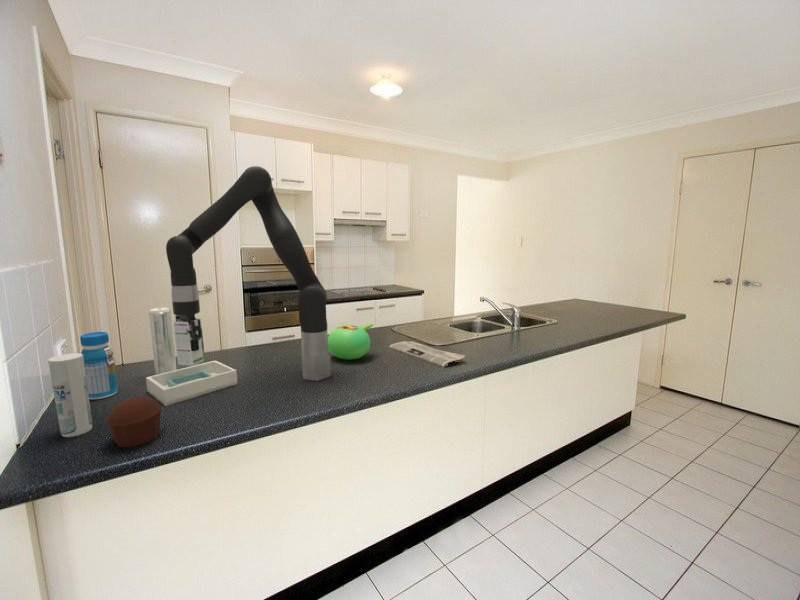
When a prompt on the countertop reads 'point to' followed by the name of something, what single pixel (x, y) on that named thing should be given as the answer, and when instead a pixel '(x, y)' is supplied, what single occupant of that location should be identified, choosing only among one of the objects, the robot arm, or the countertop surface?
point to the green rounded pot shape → (349, 341)
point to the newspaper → (426, 353)
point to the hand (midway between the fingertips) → (190, 348)
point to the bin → (190, 382)
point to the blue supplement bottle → (99, 365)
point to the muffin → (134, 421)
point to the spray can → (71, 394)
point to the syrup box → (187, 345)
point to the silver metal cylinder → (162, 340)
